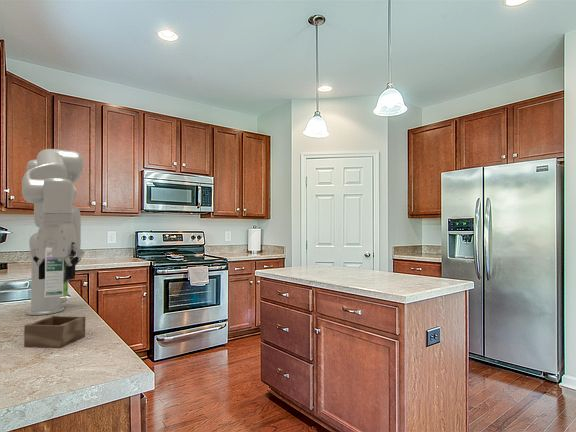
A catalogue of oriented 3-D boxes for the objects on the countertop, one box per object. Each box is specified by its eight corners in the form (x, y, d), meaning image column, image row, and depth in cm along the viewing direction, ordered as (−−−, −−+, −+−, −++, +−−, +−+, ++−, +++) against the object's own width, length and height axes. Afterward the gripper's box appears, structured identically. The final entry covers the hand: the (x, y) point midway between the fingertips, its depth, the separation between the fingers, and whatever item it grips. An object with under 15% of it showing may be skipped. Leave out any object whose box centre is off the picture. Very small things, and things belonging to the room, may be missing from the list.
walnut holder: (52, 335, 115) (52, 316, 115) (85, 336, 114) (85, 316, 114) (24, 346, 104) (24, 325, 105) (60, 348, 103) (60, 326, 104)
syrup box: (43, 298, 106) (44, 247, 106) (46, 294, 111) (47, 246, 111) (67, 296, 108) (67, 247, 109) (68, 293, 114) (69, 245, 114)
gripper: (20, 219, 107) (19, 280, 107) (76, 219, 106) (75, 281, 105) (40, 220, 115) (39, 276, 114) (93, 220, 113) (92, 277, 113)
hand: (56, 278), depth 110 cm, fingers closed on syrup box, 7 cm apart
